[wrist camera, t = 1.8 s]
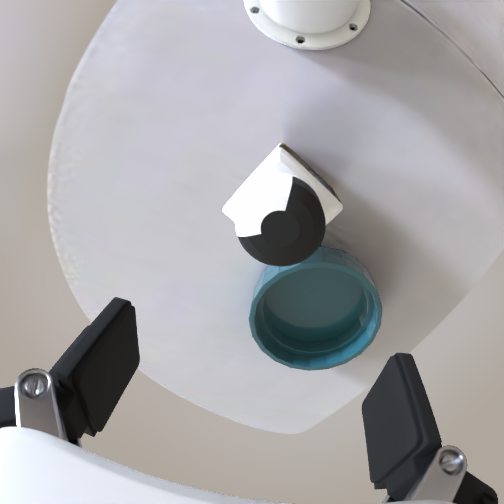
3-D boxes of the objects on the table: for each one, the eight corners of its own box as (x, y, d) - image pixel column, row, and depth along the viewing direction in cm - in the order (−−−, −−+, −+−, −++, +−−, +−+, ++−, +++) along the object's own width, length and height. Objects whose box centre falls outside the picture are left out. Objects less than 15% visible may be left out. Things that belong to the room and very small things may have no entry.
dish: (265, 232, 32) (261, 249, 28) (389, 258, 32) (401, 276, 28) (246, 335, 38) (241, 358, 34) (350, 352, 38) (355, 376, 33)
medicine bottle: (334, 189, 30) (357, 228, 19) (286, 237, 32) (282, 296, 21) (282, 141, 28) (275, 149, 17) (235, 192, 31) (203, 231, 20)
